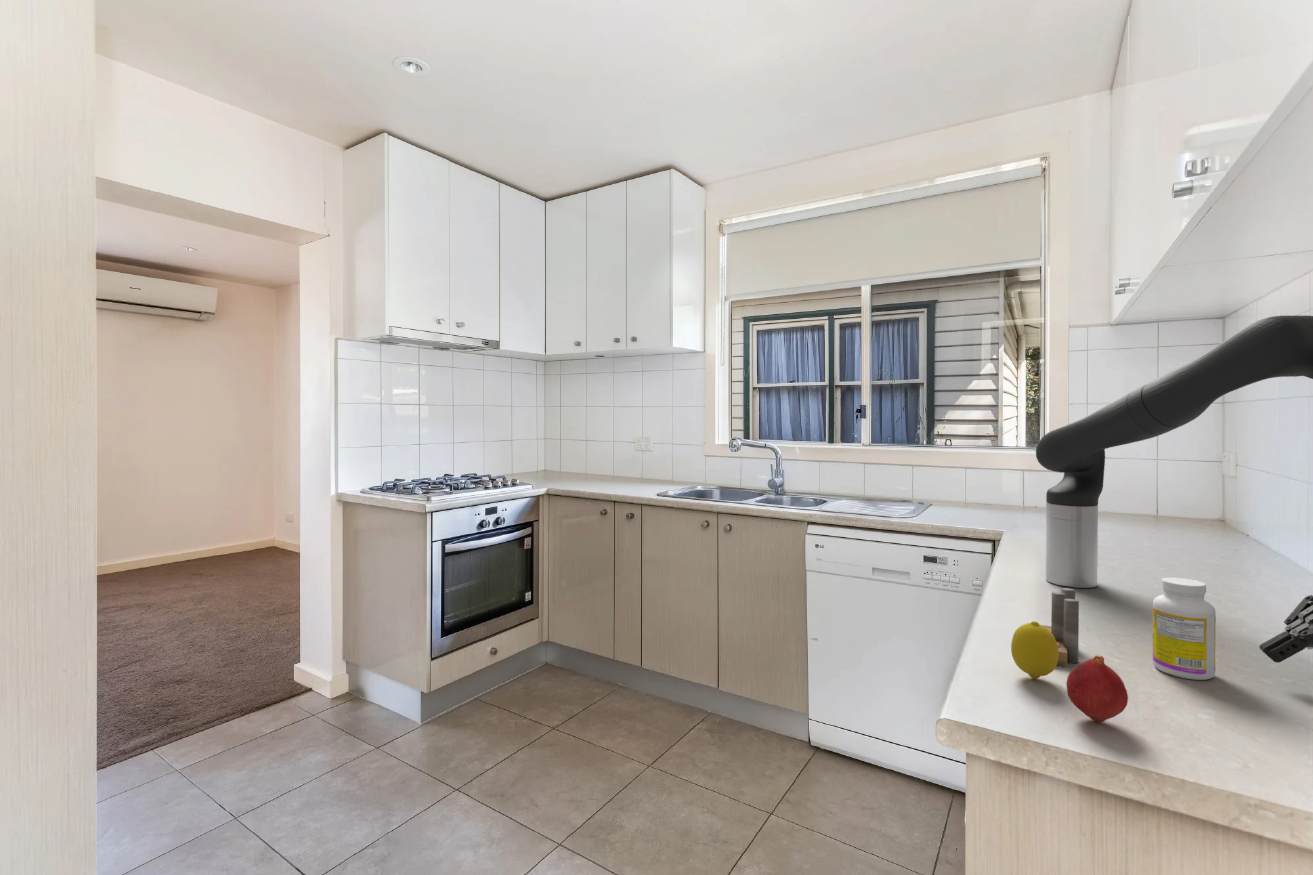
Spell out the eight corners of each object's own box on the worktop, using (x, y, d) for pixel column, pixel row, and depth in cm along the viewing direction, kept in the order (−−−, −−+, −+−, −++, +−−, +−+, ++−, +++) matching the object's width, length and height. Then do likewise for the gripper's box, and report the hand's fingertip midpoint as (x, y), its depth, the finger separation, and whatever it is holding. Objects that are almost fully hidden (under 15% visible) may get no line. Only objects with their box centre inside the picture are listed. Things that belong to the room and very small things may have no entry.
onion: (1067, 725, 70) (1068, 658, 70) (1064, 705, 75) (1065, 642, 75) (1130, 739, 67) (1131, 668, 67) (1123, 717, 72) (1124, 651, 72)
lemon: (1047, 672, 85) (1048, 616, 84) (1065, 689, 79) (1066, 629, 79) (1004, 669, 86) (1005, 613, 86) (1019, 686, 80) (1020, 627, 80)
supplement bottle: (1174, 659, 88) (1175, 573, 88) (1227, 678, 82) (1229, 585, 82) (1140, 665, 87) (1141, 577, 86) (1191, 684, 80) (1192, 589, 80)
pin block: (1029, 635, 99) (1030, 581, 99) (1073, 641, 96) (1073, 586, 96) (1031, 660, 89) (1031, 600, 88) (1080, 668, 86) (1080, 606, 85)
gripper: (1351, 542, 80) (1225, 617, 87) (1407, 564, 69) (1257, 648, 76) (1408, 587, 78) (1275, 660, 85) (1476, 617, 66) (1315, 699, 73)
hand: (1267, 655), depth 80 cm, fingers closed
